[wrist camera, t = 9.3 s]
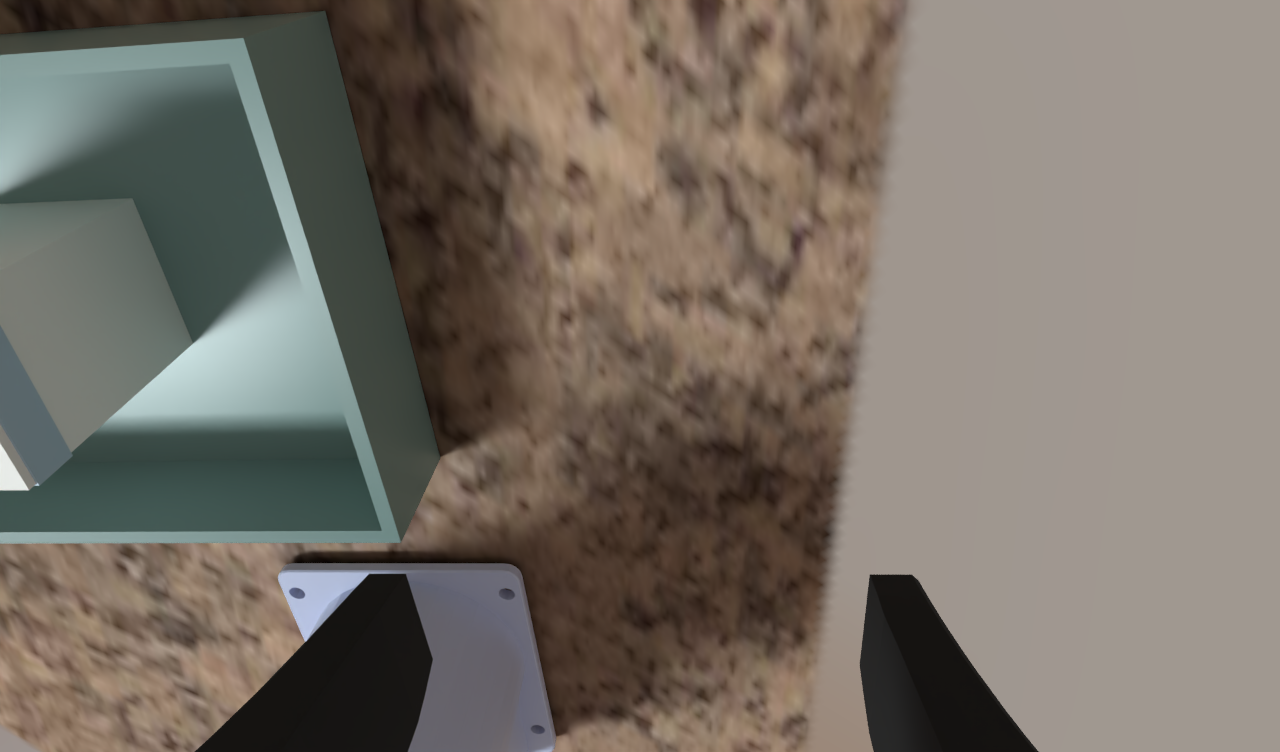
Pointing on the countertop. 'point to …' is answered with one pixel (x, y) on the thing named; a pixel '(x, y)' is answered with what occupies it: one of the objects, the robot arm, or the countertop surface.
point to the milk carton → (75, 327)
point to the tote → (227, 286)
